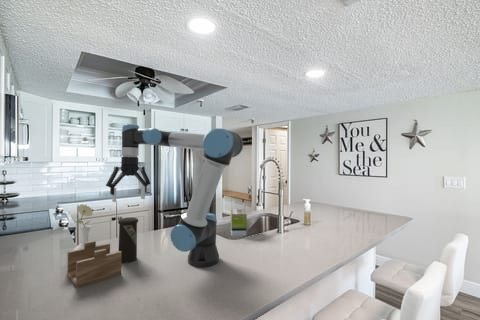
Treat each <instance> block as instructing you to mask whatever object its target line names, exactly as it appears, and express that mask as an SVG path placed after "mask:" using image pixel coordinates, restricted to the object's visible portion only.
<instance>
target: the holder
mask: <svg viewBox="0 0 480 320" xmlns="http://www.w3.org/2000/svg"><path fill="white" fill-rule="evenodd" d="M96 243H97V241H96V240H92V241H91V240H89V242H85V243H84V248H82V249H78V250H74V249H73V250H69V251H67V266H66V269H67V270H66V272H67V273H66V274H67V277H68V278H69V279H70V281H71V283H73V285H74V287H75V288H76V289H78V288H81V287H84V286H88V285H91V284H95V283H98V282H101V281H104V280H107V279H111V278H114V277H117V276H119V275H121V274H122V262H121V256H122V252H121V251H114V252H111V243H110V242H105V243H102V244H96Z"/></svg>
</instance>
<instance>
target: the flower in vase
mask: <svg viewBox="0 0 480 320" xmlns="http://www.w3.org/2000/svg"><path fill="white" fill-rule="evenodd" d="M76 211H77V212H78V213H79V215H81V219H76V221H75V223H76V224H79V225H80V224H82V225H83V226H80V227H79V228H80V230H81V232H82V242H81V243H80V244H78V245H77V246H76V247H74V249H73V250H78V249H82V248H84V243H85V242H90V239H89V233H90V230H91V228H92V227H93V226H92V225H86V224H89V223H90V222H91V220H89V221H86V222H85V223H84V222H83V216H84V217H91V216H93V209H92V207H90V206H89V205H87V204H80V205H77V206H76Z"/></svg>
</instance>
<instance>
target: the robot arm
mask: <svg viewBox="0 0 480 320" xmlns="http://www.w3.org/2000/svg"><path fill="white" fill-rule="evenodd" d="M121 127H122V130H121V156H122V157H121V161H120V163H121V165H120V166H118V165H117V166H114V167H113V171H112V173H111V175H110V177H109V178H108V180H107V182H106V184H105V186H106V187H108V188H110V191H109V193H110V195H111V197H112V199H111V201H112V203H117V187H116V186H117V185H118V184H119V183H120V182H121V181H122V180H123V178H124V177H125V176H127V177H131V176H134V177H136V179H137V180H138V182H139V183H140V184H141V188H140V199H142V200H145V199H146V198H145V197H146V193H147V190H148V189H147V187H148V186H150V185H151V181H150V178H149V177H148V175H147V172H146V169H145V166H143V165H142V166H139V157H138V156H139V153H140V152H139V149H140V147H139V146H140V145H149V146H150V145H151V146H160V147H161V146H162V147H168V148H169V147H170V148H180V149H190V150H198V151H203V153H202V158H203V160H204V162H203V165H202V167H201V171H200V173H199V177H198V179H197V182H196V185H195V188H194V190H193V192H192V196H191V199H190V201H189V205H188V207H187V210H186V212H184V213H182V214H181V215H180V216H181V217H180V218H179V219H180V220H179V222H178V224H176V225H174V226H173V227H172V228H171V230H170V241H171V242H172V245H173V247H175V249H176V250H178V251H180V252H188V255H187V263H188V264H189V265H190V266H193V267H197V268H198V267H199V268H207V267H212V266H215V265H217V264H218V263H219V262H220V253H219V250H218V247H217V223H218V221H217V215H216V214H214V213H211V212H209V209H210V207H211V205H212V203H213V202H212V201H213V199H214V197H215V194H216V191H217V188H218V186H219V183H220V180H221V178H222V175H223V173H224V172H223V171H224V169H225V168H227V167H229V166H230V164H231V161H232V158H235V157H238V155H240V154H241V152H242V151H243V148H244V141H243V138H242V137H241V136H240V135H239V134H238V133H237V132H235V131H231V130H229V129H226V128H217V127H216V128H213V129H211V130H209V131H208V132H207V133H206V134H201V133H200V134H198V133H187V132H186V133H185V132H175V131H174V132H173V131H165V130H159V129H158V128H156V127H155V128H152V127H148V128H140V126H139V125H138V124H132V123H125V124H123V125H122V126H121ZM119 171H121V172H120V174H119V175H118V173H119ZM139 171H140V173H141V175H142V176H141V175H140V173H139ZM117 175H118V176H117ZM116 176H117V177H116ZM142 177H143V178H142Z"/></svg>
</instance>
